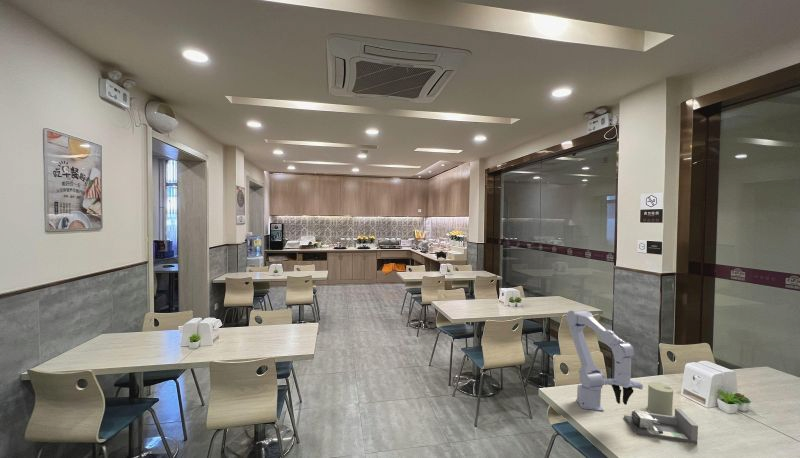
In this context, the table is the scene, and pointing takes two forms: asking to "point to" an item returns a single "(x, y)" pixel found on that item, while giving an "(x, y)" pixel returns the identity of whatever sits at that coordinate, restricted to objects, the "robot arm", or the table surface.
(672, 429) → the gauge base
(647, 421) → the white mechanical block
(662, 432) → the peak marker
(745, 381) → the table surface
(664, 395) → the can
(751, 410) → the table surface
